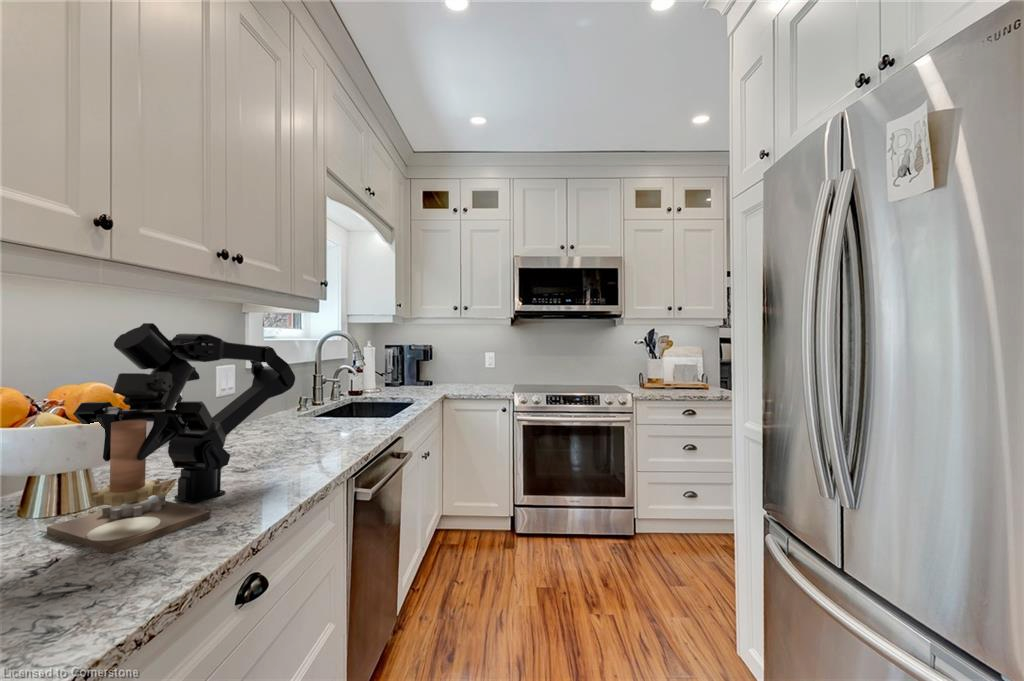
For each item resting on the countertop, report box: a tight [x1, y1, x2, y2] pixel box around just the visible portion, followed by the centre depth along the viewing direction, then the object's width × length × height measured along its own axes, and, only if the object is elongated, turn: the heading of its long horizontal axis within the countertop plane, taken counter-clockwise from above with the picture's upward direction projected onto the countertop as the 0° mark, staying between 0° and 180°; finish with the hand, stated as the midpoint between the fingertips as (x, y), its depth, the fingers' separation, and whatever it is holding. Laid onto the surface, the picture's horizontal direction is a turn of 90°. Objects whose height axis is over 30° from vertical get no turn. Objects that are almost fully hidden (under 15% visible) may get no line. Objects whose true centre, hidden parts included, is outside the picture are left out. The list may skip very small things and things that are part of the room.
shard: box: [157, 477, 178, 496], centre depth 91 cm, size 11×8×2 cm
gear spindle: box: [90, 419, 162, 508], centre depth 71 cm, size 9×9×12 cm
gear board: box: [46, 495, 211, 555], centre depth 75 cm, size 15×17×4 cm
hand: (122, 459), depth 69 cm, fingers closed on gear spindle, 4 cm apart
